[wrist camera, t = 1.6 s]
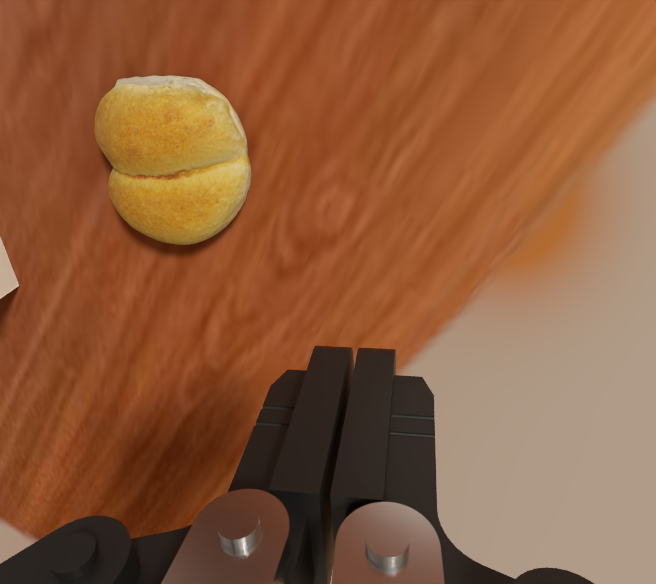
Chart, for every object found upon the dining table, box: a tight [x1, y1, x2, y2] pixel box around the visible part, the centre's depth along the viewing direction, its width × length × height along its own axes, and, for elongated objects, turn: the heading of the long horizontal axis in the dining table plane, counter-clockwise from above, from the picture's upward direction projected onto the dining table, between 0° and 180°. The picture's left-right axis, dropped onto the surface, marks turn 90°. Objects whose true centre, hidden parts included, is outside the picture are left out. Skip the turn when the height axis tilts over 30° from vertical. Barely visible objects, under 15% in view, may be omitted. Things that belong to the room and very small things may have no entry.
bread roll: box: [94, 75, 251, 245], centre depth 27 cm, size 8×9×4 cm
